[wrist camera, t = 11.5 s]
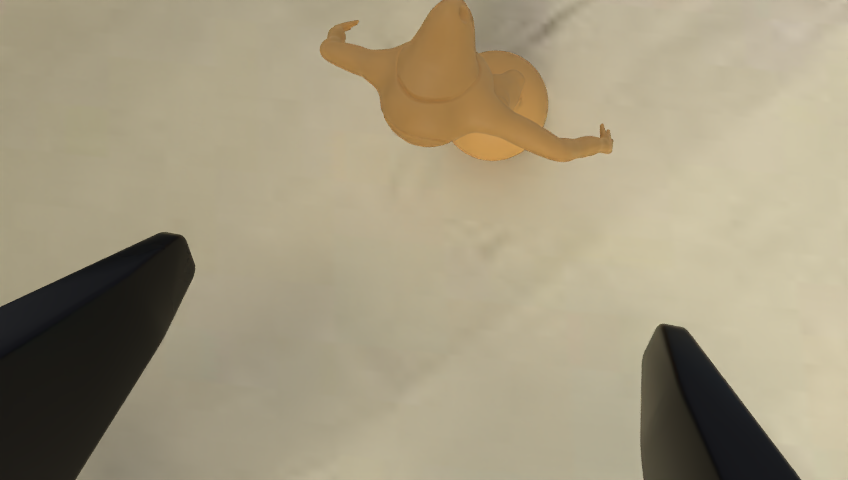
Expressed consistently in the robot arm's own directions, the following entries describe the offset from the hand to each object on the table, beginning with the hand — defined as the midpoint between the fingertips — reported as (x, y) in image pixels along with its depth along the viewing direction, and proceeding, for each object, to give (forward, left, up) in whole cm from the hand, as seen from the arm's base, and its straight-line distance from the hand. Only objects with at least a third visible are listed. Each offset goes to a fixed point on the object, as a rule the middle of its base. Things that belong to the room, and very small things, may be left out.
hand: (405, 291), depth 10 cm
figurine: (+4, -4, -12) cm, 13 cm away
